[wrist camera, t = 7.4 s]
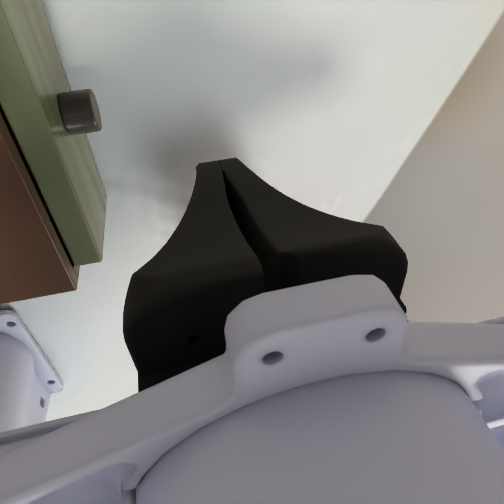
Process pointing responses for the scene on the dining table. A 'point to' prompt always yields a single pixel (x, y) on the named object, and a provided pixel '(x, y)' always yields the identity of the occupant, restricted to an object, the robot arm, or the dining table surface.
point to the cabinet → (28, 235)
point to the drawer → (51, 128)
